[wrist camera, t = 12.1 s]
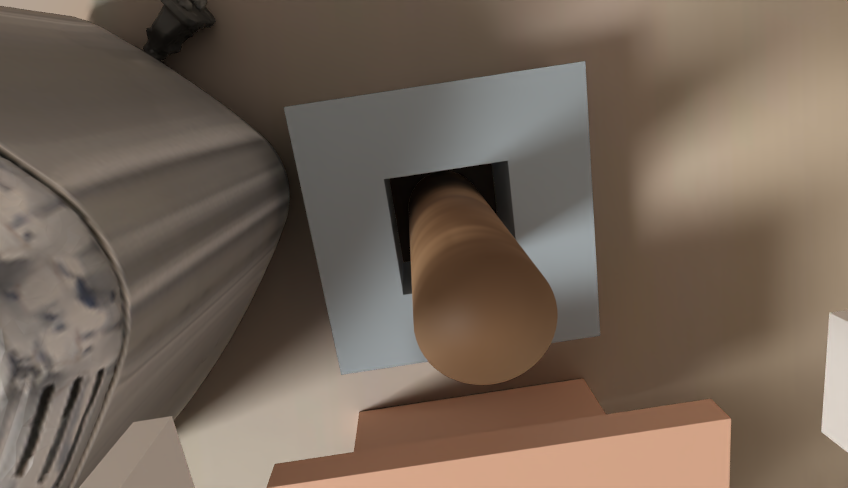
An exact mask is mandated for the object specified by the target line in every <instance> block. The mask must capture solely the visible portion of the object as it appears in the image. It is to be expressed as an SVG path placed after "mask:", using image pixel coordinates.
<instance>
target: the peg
mask: <svg viewBox="0 0 848 488" xmlns="http://www.w3.org/2000/svg"><path fill="white" fill-rule="evenodd" d="M408 209H409V232H410V255H411V279H412V302H413V324H414V333H415V337H416V341H417V343H418V346H419V348H420V350H421V352H422V353H423V355H424V357H425V358H426V359H427V360H428V362H429V363H430V364H431V365H432V366H433V367H434V368H435V369H437V370H438V371H439V372H441V373H442V374H444V375H446V376H447V377H449V378H451V379H454V380H456V381H459V382H463V383H467V384H474V385H490V384H497V383H501V382H505V381H508V380H511V379H513V378H515V377H517V376H519V375H521V374H523V373H524V372H526V371H528V370H529V369H530V368H531V367H533V366H534V365H535V364H536V363H537V362H538V361H539V360H540V359H541V358H542V356H543V355H544V354H545V352H546V351H547V349H548V348H549V346H550V344H551V342H552V340H553V337H554V334H555V331H556V327H557V319H558V313H557V304H556V299H555V296H554V293H553V291H552V289H551V287H550V285H549V283H548V282H547V280H546V279H545V277H544V276H543V275H542V273H541V272H540V271H539V269H538V268H537V267H536V266H535V264H534V263H533V262H532V260H531V259H530V258H529V256H528V255H527V254H526V253H525V251H524V250H523V249H522V247H521V246H520V245H519V243H518V242H517V241H516V239H515V238H514V237H513V236H512V234H511V233H510V232H509V230H508V229H507V228H506V226H505V225H504V224H503V223H502V221H501V220H500V219H499V217H498V216H497V215H496V213H495V212H494V211H493V210H492V208H491V207H490V206H489V204H488V203H487V202H486V200H485V199H484V198H483V197H482V195H481V194H480V193H479V191H478V190H477V189H476V187H475V186H474V185H473V184H472V183H471V181H469V180H468V179H467V178H466V177H464V176H463V175H461V174H458V173H455V172H451V171H439V172H435V173H432V174H430V175H428V176H426V177H424V178H423V179H422V180H421V181H419V182H418V184H417V185H416V186H415V187H414V189H413V191H412V193H411V195H410V199H409V207H408Z"/></svg>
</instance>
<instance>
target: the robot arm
mask: <svg viewBox="0 0 848 488" xmlns="http://www.w3.org/2000/svg"><path fill="white" fill-rule="evenodd" d="M821 432H822V433H823V434H825V435H826V436H827V437H828V438H830V439H831V440H832V441H834V442H835V443H836V444H838V445H839V446H840V447H841V448H843V449H844V450H845V451H847V452H848V310H844V311H837V312H831V313H829V327H828V341H827V356H826V371H825V385H824V400H823V414H822V429H821ZM79 488H195V487H194V484H193V481H192V477H191V474H190V471H189V468H188V465H187V462H186V459H185V455H184V452H183V449H182V446H181V443H180V440H179V436H178V433H177V430H176V427H175V424H174V421H173V418H172V416H169V417H163V418H157V419H150V420H144V421H137V422H133V423H132V424H131V425H130V427H129V428H128V429H127V430H126V431H125V433H124V434H123V435H122V436H121V437H120V439H119V440H118V441H117V442H116V444H115V445H114V446H113V447H112V448H111V450H110V451H109V452H108V453H107V454H106V456H105V457H104V458H103V459H102V460H101V462H100V463H99V464H98V465H97V466H96V468H95V469H94V470H93V471H92V472H91V474H90V475H89V476H88V477H87V478H86V480H85V481H84V482H83V483H82V485H81V486H80V487H79Z"/></svg>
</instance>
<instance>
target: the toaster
mask: <svg viewBox="0 0 848 488" xmlns="http://www.w3.org/2000/svg"><path fill="white" fill-rule="evenodd" d="M161 1H162V3H163V4H164V6H163V8H162V10H161V12H160V13H159V15H158V17H157V18H156V20H155V21H154V23H153V25H152V28H147V30H146V32H147V36H148V42H147V43H146V44H145V46H144V50H141V49H139V48H137V47H135V46H133V45H132V44H130V43H128V42H126V41H124V40H123V39H121V38H119V37H118V36H117V35H114V34H112V33H111V32H110V31H108V30H106V29H104V28H102V27H100V26H98V25H96V24H94V23H91V22H89V21H86V20H82V19H79V18H76V17H72V16H66V15H59V14H52V13H45V12H37V11H31V10H24V9H17V8H11V7H4V6H0V488H79V487H80V486H81V485H82V483H83V482H84V481H85V480H86V478H87V477H88V476H89V475H90V474H91V472H92V471H93V470H94V469H95V468H96V466H97V465H98V464H99V463H100V462H101V460H102V459H103V458H104V457H105V456H106V454H107V453H108V452H109V451H110V450H111V448H112V447H113V446H114V445H115V444H116V442H117V441H118V440H119V439H120V437H121V436H122V435H123V434H124V433H125V431H126V430H127V429H128V428H129V427H130V425H131V424H132V423H133V422H137V421H144V420H150V419H157V418H163V417H169V416H172V418H173V421H174V420H175V419H176V417H177V416H178V415H179V414H180V412H181V411H182V410H183V409H184V407H185V406H186V405H187V403H188V402H189V401H190V399H191V398H192V397H193V395H194V394H195V392H196V391H197V390H198V388H199V387H200V385H201V384H202V383H203V381H204V380H205V378H206V377H207V375H208V374H209V372H210V371H211V369H212V368H213V366H214V365H215V363H216V362H217V360H218V358H219V357H220V355H221V354H222V352H223V350H224V349H225V347H226V346H227V344H228V342H229V341H230V339H231V337H232V335H233V333H234V332H235V330H236V328H237V326H238V325H239V323H240V321H241V319H242V317H243V316H244V314H245V312H246V310H247V308H248V306H249V304H250V302H251V300H252V298H253V296H254V294H255V292H256V290H257V288H258V286H259V284H260V282H261V280H262V278H263V275H264V273H265V270H266V268H267V266H268V264H269V262H270V260H271V258H272V256H273V253H274V251H275V248H276V246H277V244H278V241H279V238H280V236H281V233H282V230H283V227H284V225H285V222H286V219H287V215H288V209H289V196H290V191H289V182H288V178H287V174H286V171H285V168H284V165H283V163H282V161H281V159H280V157H279V155H278V154H277V152H276V151H275V149H274V148H273V147H272V146H271V144H270V143H269V142H268V141H267V140H266V139H265V138H264V137H263V136H262V135H261V134H259V133H258V132H257V131H256V130H255V129H254V128H252V127H251V126H250V125H249V124H248V123H246V122H245V121H244V120H243V119H241V118H240V117H239V116H237V115H236V114H235V113H233V112H232V111H231V110H229V109H228V108H227V107H225V106H224V105H223V104H222V103H220V102H219V101H217V100H216V99H215V98H213V97H212V96H210V95H209V94H207V93H206V92H204V91H203V90H202V89H200V88H199V87H197V86H196V85H194V84H193V83H191V82H190V81H189V80H187V79H186V78H184V77H183V76H181V75H180V74H178V73H177V72H175V71H174V70H172V69H171V68H169V67H168V66H166V65H165V64H163V63H161V61H160V60H162V59H164V58H166V57H167V55H168V54H171V53H177V52H179V51H180V50H181V45H182V43H183V42H184V41H185V40H186V39H187V38H189V37H192V36H193V33H194V32H197V30H198V29H202V28H203V27H211V26H213V24H214V23H215V22H216V21H215V18H214V17H213V15H212V14H211V13H210V12H209V11H208V10H207V9H206V8H205V6H206V4H207V0H161Z"/></svg>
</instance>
